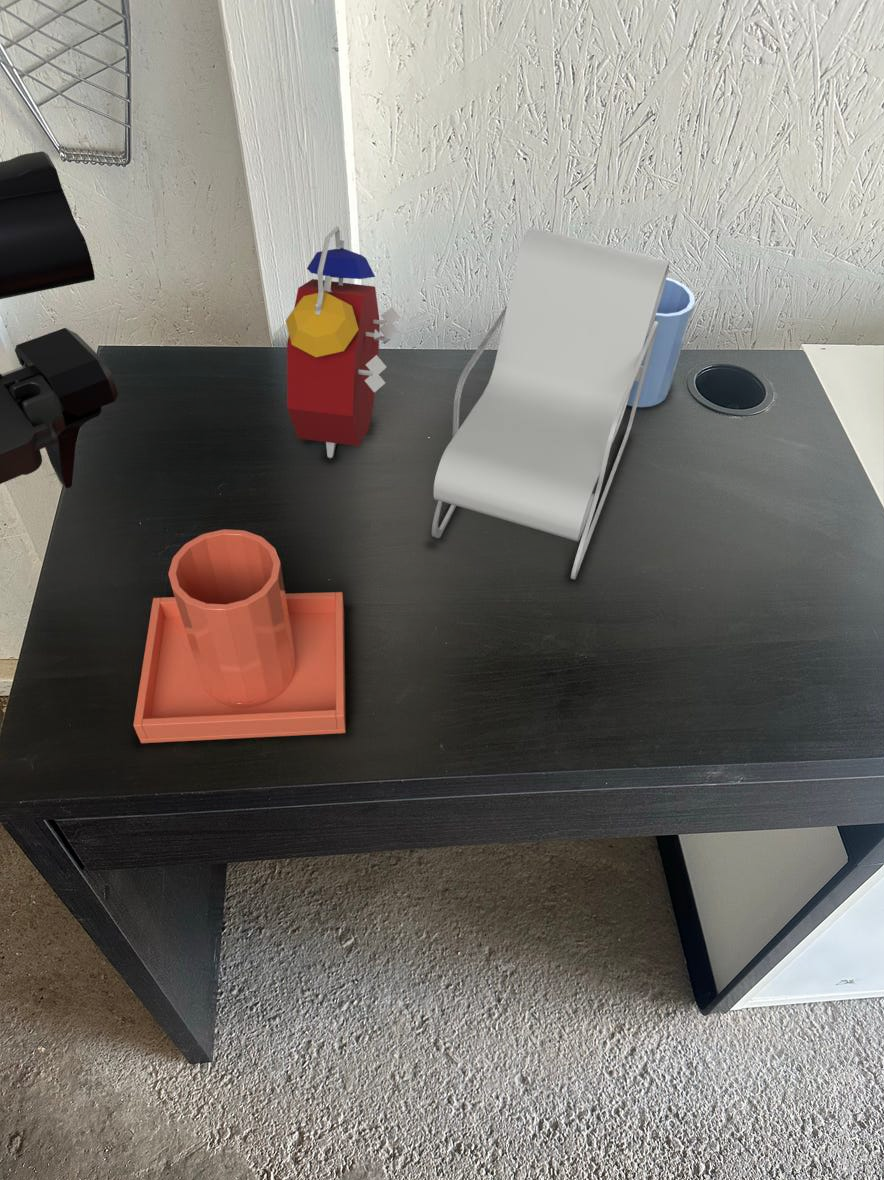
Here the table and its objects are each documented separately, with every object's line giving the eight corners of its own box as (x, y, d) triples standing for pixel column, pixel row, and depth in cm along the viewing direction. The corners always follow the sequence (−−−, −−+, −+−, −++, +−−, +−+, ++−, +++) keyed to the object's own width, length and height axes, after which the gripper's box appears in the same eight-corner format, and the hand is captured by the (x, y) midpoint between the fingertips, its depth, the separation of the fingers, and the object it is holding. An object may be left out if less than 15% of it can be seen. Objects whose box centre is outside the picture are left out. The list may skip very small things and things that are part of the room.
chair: (631, 429, 93) (678, 250, 77) (569, 597, 78) (611, 417, 63) (510, 396, 95) (532, 215, 79) (427, 553, 80) (434, 369, 65)
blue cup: (637, 416, 94) (661, 324, 86) (587, 381, 97) (606, 289, 89) (681, 390, 98) (709, 299, 89) (632, 357, 101) (654, 267, 92)
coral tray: (140, 743, 66) (132, 725, 64) (159, 616, 74) (153, 597, 72) (345, 733, 68) (343, 715, 66) (344, 610, 75) (342, 591, 73)
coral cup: (192, 706, 68) (158, 606, 59) (209, 630, 73) (181, 526, 63) (289, 709, 68) (271, 611, 59) (300, 634, 73) (286, 532, 63)
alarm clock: (324, 377, 94) (309, 188, 79) (404, 387, 94) (405, 200, 79) (292, 470, 85) (268, 278, 70) (381, 481, 85) (377, 291, 70)
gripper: (-231, 456, 42) (-88, 651, 54) (129, 323, 50) (183, 519, 63) (-301, 343, 47) (-155, 547, 59) (40, 239, 55) (106, 436, 67)
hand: (3, 512), depth 62 cm, fingers open, 9 cm apart
